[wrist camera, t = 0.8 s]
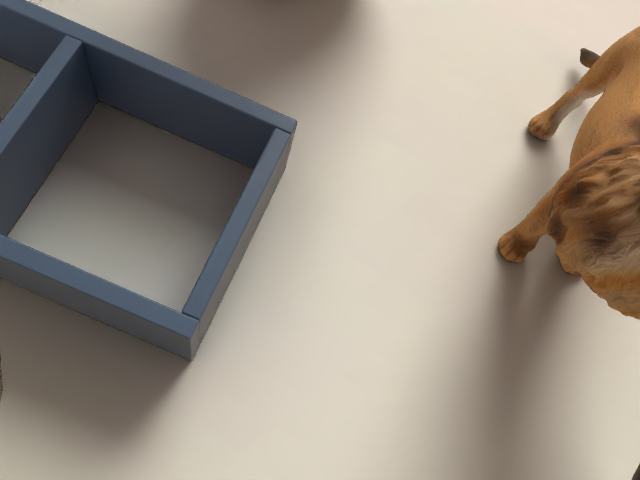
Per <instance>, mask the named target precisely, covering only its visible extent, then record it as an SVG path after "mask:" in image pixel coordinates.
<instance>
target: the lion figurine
mask: <svg viewBox="0 0 640 480" xmlns="http://www.w3.org/2000/svg"><path fill="white" fill-rule="evenodd" d="M580 62H581V64H583V65H584V66H586V67H588V68H590V69H589V70H588V72H587V73H586V74H585V75H584V76H583V77H582V79H581V80H580V81H579V83H578V84H577V85H576V86H575V87H574V88H573V89H570V90H569V91H567V92H566V93H565V94H564V95H563V96H562V97H561V98H560V99H559V100H558V101H557V102H556V103H555V104H554V105H552V106H551V107H550V108H548V109H547V110H545V111H543V112H542V113H540V114H538V115H536V116H535V117H533V118H532V119H531V121H530V122H529V125H528V127H529V130H530V133H531V134H532V135H534V136H536V137H538V138H540V139H542V140H547V139H549V138H551V137H552V136H553V135H554V133H555V132H556V130H557V128H558V126H559V124H560V123H561V121H562V120H563V119H564V118H565V117H566V116H567V115H568V114H569V113H570V112H571V111H572V110H573V109H575V108H577V107H578V106H579V105H580V104H581V103H582V102H583V101H584V100H585V99H587V98H591V97H594V96H596V95H598V94H600V93H602V92H604V93H603V95H602V96H601V97H600V98H599V100H598V101H597V102H596V103H595V104H594V106H593V107H592V108H591V110H590V111H589V113H588V114H587V116H586V117H585V119H584V121H583V123H582V125H581V127H580V129H579V131H578V134H577V136H576V139H575V141H574V144H573V148H572V151H571V156H570V165H569V170H568V171H567V172H566V173H565V174H564V175H563V176H562V177H561V178H560V179H559V181H558V182H557V183H556V185H555V186H554V187H553V188H552V189H551V190H550V191H549V193H548V194H547V195H546V196H544V197H543V198H542V199H541V200H540V201H539V203H538V204H537V205H536V207H535V208H534V209H533V210H532V211H531V212H530V213H529V214H528V215H527V216H526V218H525V219H524V220H523V221H522V222H521V223H520V224H519V225H517V226H516V227H515V228H513V229H512V230H510V231H509V232H507V233H506V234H504V235H503V236H502V237H501V238H500V240H499V242H498V247H499V250H500V253H501V254H502V256H503V257H504V258H505V259H507V260H508V261H513V262H521V261H523V259H524V258H525V256H526V255H527V253H528V252H530V251H532V250H533V249H534V248H535V246H536V244H537V242H538V240H539V238H540V237H541V236H543V235H545V234H548V235H549V236H551V237H552V238H553V239H554V240H555V243H556V254H557V255H558V256H559V257H560V262H561V264H562V266H563V270H564V271H566V272H569V273H571V274H572V275H579V276H581V277H582V278H583V280H584V281H585V283H586V284H587V285H588V286H589V287H590V289H591V290H592V291H593V292H595V293H596V294H597V295H598V296H599V297H600V298H603V299H605V300H606V301H607V303H608V305H609V307H611V308H613V309H615V310H617V311H620V312H621V313H622V314H623V315H625V316H631V317H634V318H636V319H639V320H640V27H638V28H636V29H634V30H633V31H631V32H630V33H628V34H627V35H625V36H624V37H622V38H621V39H619V40H618V41H617V42H615V43H614V44H613V45H612V46H610V47H609V48H608V49H607V50H606V51H605V52H604V53H603V54H602V55H601V57H600V56H599V55H597V54H596V53H594V52H592V51H589V50H587V49H585V48H582V49H581V55H580Z"/></svg>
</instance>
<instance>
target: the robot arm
mask: <svg viewBox="0 0 640 480" xmlns="http://www.w3.org/2000/svg"><path fill="white" fill-rule="evenodd" d="M2 391H3V384H2V370H1V356H0V400H1V397H2ZM632 480H640V464H639V466H638V468H637V470H636V471H635V473H634V475H633V478H632Z"/></svg>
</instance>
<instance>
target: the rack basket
mask: <svg viewBox="0 0 640 480" xmlns="http://www.w3.org/2000/svg"><path fill="white" fill-rule="evenodd" d="M0 57H1V58H4V59H6V60H8V61H11V62H13V63H15V64H17V65H20V66H22V67H24V68H26V69H29V70H31V71H33V72H35V73H37V75H36V76H35V77H34V79H33V80H32V81H31V83H30V84H29V85H28V87H27V88H26V89H25V91H24V92H23V93H22V95H21V96H20V97H19V99H18V100H17V101H16V103H15V104H14V105H13V107H12V108H11V109H10V111H9V112H8V113H7V115H6V116H5V117H4V119H3V120H2V121H1V123H0V278H1V279H4V280H6V281H8V282H11V283H13V284H15V285H18V286H20V287H22V288H24V289H27V290H29V291H31V292H34V293H36V294H38V295H41V296H43V297H45V298H48V299H50V300H52V301H54V302H57V303H59V304H61V305H64V306H66V307H68V308H71V309H73V310H75V311H77V312H80V313H82V314H84V315H87V316H89V317H91V318H94V319H96V320H98V321H101V322H103V323H105V324H107V325H110V326H112V327H114V328H117V329H119V330H121V331H124V332H126V333H128V334H131V335H133V336H135V337H137V338H140V339H142V340H144V341H147V342H149V343H151V344H154V345H156V346H158V347H161V348H163V349H165V350H167V351H170V352H172V353H174V354H177V355H179V356H181V357H184V358H186V359H188V360H191V361H192V360H193V358H194V356H195V354H196V352H197V350H198V348H199V344H200V343H201V342H202V340H203V338H204V335H205V333H206V331H207V329H208V327H209V325H210V323H211V321H212V319H213V317H214V315H215V313H216V311H217V309H218V307H219V304H220V302H221V300H222V298H223V296H224V294H225V292H226V290H227V288H228V286H229V284H230V282H231V280H232V278H233V276H234V273H235V271H236V269H237V267H238V265H239V263H240V261H241V259H242V257H243V255H244V253H245V251H246V249H247V247H248V245H249V242H250V240H251V238H252V236H253V234H254V232H255V230H256V228H257V226H258V224H259V222H260V220H261V218H262V216H263V214H264V211H265V209H266V207H267V205H268V203H269V201H270V199H271V197H272V195H273V193H274V191H275V189H276V187H277V185H278V183H279V180H280V178H281V176H282V174H283V172H284V170H285V167H286V163H287V160H288V156H289V152H290V148H291V145H292V141H293V137H294V134H295V130H296V126H297V121H296V120H294V119H292V118H290V117H288V116H285V115H283V114H281V113H279V112H276V111H274V110H272V109H270V108H267V107H265V106H263V105H261V104H258V103H256V102H254V101H251V100H249V99H247V98H245V97H242V96H240V95H238V94H236V93H233V92H231V91H229V90H227V89H224V88H222V87H220V86H218V85H215V84H213V83H211V82H209V81H206V80H204V79H202V78H200V77H197V76H195V75H193V74H191V73H188V72H186V71H184V70H182V69H179V68H177V67H175V66H173V65H170V64H168V63H166V62H163V61H161V60H159V59H157V58H154V57H152V56H150V55H148V54H145V53H143V52H141V51H139V50H136V49H134V48H132V47H130V46H127V45H125V44H123V43H121V42H118V41H116V40H114V39H112V38H109V37H107V36H105V35H103V34H100V33H98V32H96V31H94V30H91V29H89V28H87V27H85V26H82V25H80V24H78V23H75V22H73V21H71V20H69V19H66V18H64V17H62V16H60V15H57V14H55V13H53V12H51V11H48V10H46V9H44V8H42V7H39V6H37V5H35V4H33V3H30V2H28V1H26V0H0ZM98 100H99V101H101V102H104V103H106V104H108V105H110V106H113V107H115V108H117V109H119V110H122V111H124V112H126V113H128V114H131V115H133V116H135V117H138V118H140V119H142V120H144V121H147V122H149V123H151V124H153V125H156V126H158V127H160V128H162V129H165V130H167V131H169V132H172V133H174V134H176V135H178V136H181V137H183V138H185V139H187V140H190V141H192V142H194V143H197V144H199V145H201V146H203V147H206V148H208V149H210V150H212V151H215V152H217V153H219V154H221V155H224V156H226V157H228V158H231V159H233V160H235V161H237V162H240V163H242V164H244V165H246V166H249V167H251V168H253V169H254V170H253V172H252V174H251V176H250V178H249V180H248V182H247V184H246V186H245V188H244V190H243V192H242V194H241V196H240V198H239V200H238V202H237V204H236V206H235V207H234V209H233V211H232V213H231V215H230V217H229V219H228V221H227V223H226V225H225V227H224V229H223V231H222V233H221V235H220V237H219V239H218V241H217V243H216V245H215V247H214V249H213V251H212V253H211V255H210V257H209V259H208V260H207V262H206V264H205V266H204V268H203V270H202V272H201V274H200V276H199V278H198V280H197V282H196V284H195V286H194V288H193V290H192V292H191V294H190V296H189V298H188V300H187V302H186V304H185V306H184V308H183V310H182V313H180V312H178V311H176V310H173V309H171V308H169V307H166V306H164V305H162V304H159V303H157V302H155V301H153V300H150V299H148V298H146V297H143V296H141V295H139V294H136V293H134V292H132V291H130V290H127V289H125V288H123V287H120V286H118V285H116V284H113V283H111V282H109V281H107V280H104V279H102V278H100V277H97V276H95V275H93V274H90V273H88V272H86V271H84V270H81V269H79V268H77V267H74V266H72V265H70V264H67V263H65V262H63V261H61V260H58V259H56V258H54V257H51V256H49V255H47V254H44V253H42V252H40V251H38V250H35V249H33V248H31V247H28V246H26V245H24V244H22V243H19V242H17V241H15V240H12V239H10V238H8V237H6V236H7V235H8V233H9V232H10V230H11V229H12V227H13V226H14V225H15V223H16V222H17V220H18V219H19V217H20V216H21V214H22V213H23V211H24V210H25V208H26V207H27V205H28V204H29V202H30V201H31V199H32V198H33V196H34V195H35V193H36V192H37V191H38V189H39V188H40V186H41V185H42V183H43V182H44V180H45V179H46V177H47V176H48V174H49V173H50V171H51V170H52V168H53V167H54V165H55V164H56V162H57V161H58V160H59V158H60V157H61V155H62V154H63V152H64V151H65V149H66V148H67V146H68V145H69V143H70V142H71V140H72V139H73V137H74V136H75V134H76V133H77V131H78V130H79V128H80V127H81V126H82V124H83V123H84V121H85V120H86V118H87V117H88V115H89V114H90V112H91V111H92V109H93V108H94V106H95V105H96V103H97V102H98Z"/></svg>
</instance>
